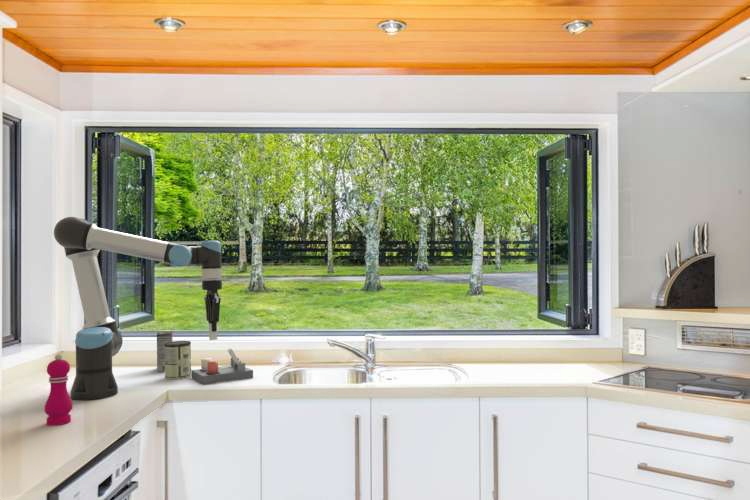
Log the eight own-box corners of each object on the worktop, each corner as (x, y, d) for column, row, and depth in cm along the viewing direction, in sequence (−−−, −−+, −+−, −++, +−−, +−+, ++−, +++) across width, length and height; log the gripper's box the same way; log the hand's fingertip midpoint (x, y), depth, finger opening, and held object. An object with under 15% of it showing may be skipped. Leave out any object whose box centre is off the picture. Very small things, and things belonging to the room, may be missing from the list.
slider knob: (233, 366, 238) (233, 359, 238) (230, 365, 241) (230, 358, 241) (238, 365, 240) (238, 358, 240) (236, 364, 242) (236, 357, 242)
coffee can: (171, 374, 241) (171, 340, 242) (195, 374, 240) (194, 340, 241) (159, 379, 231) (159, 344, 231) (184, 379, 230) (184, 344, 230)
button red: (209, 375, 224) (209, 362, 224) (206, 374, 227) (206, 361, 227) (219, 374, 226) (219, 361, 226) (216, 373, 229) (216, 360, 229)
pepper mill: (77, 418, 173) (76, 352, 174) (65, 425, 166) (64, 356, 167) (52, 419, 173) (52, 352, 174) (39, 426, 166) (39, 356, 166)
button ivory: (203, 372, 230) (203, 360, 231) (200, 371, 234) (200, 358, 234) (213, 371, 233) (212, 359, 233) (209, 370, 236) (209, 357, 236)
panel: (203, 384, 220) (203, 368, 221) (191, 377, 234) (191, 362, 234) (253, 377, 232) (252, 362, 232) (238, 371, 245) (238, 357, 245)
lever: (239, 370, 232) (228, 351, 229) (237, 368, 234) (226, 350, 232) (243, 367, 233) (232, 348, 230) (241, 365, 235) (230, 347, 233)
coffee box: (157, 368, 257) (157, 331, 257) (173, 367, 258) (172, 331, 259) (156, 371, 248) (156, 334, 248) (172, 370, 250) (172, 333, 250)
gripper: (226, 279, 224) (228, 340, 224) (215, 279, 235) (217, 337, 234) (207, 280, 220) (209, 342, 219) (197, 279, 231) (198, 339, 230)
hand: (213, 339), depth 227 cm, fingers closed
